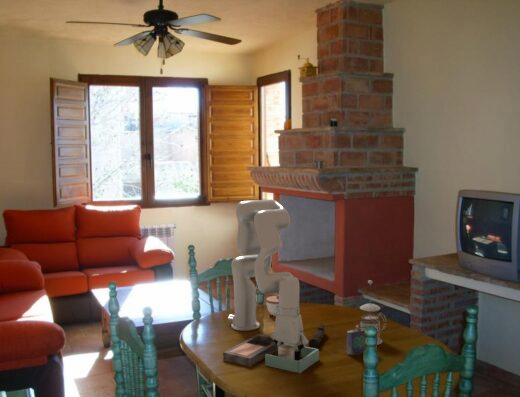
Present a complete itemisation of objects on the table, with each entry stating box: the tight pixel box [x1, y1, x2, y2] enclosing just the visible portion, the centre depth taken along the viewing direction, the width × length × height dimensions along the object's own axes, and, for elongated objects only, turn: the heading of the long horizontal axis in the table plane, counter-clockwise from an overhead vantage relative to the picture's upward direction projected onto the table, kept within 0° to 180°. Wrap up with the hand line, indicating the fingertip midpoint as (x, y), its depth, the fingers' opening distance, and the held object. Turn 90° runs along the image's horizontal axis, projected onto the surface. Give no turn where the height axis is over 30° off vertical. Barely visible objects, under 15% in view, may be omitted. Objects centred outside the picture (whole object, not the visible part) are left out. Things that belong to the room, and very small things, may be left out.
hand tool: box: [308, 324, 325, 349], centre depth 223 cm, size 19×4×5 cm, turn 160°
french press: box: [359, 279, 387, 346], centre depth 220 cm, size 10×12×25 cm
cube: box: [277, 343, 302, 361], centre depth 201 cm, size 6×6×6 cm
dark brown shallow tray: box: [222, 333, 284, 367], centre depth 210 cm, size 12×24×3 cm, turn 148°
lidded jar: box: [265, 294, 279, 317], centre depth 260 cm, size 11×11×9 cm
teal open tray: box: [264, 345, 320, 374], centre depth 200 cm, size 14×15×4 cm
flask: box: [346, 324, 366, 356], centre depth 208 cm, size 9×3×11 cm, turn 109°
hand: (289, 358), depth 201 cm, fingers closed on cube, 6 cm apart
